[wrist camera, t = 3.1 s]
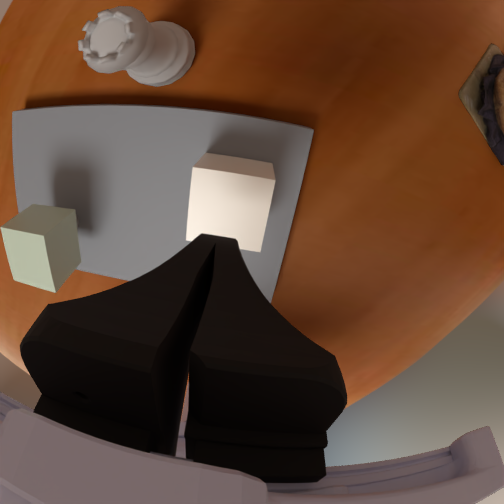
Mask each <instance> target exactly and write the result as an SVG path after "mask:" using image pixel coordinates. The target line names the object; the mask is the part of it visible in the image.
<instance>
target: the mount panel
mask: <svg viewBox="0 0 504 504" xmlns="http://www.w3.org/2000/svg"><path fill="white" fill-rule="evenodd" d="M313 132H314V130H313V129H312V128H310V127H306V126H302V125H297V124H293V123H288V122H283V121H278V120H272V119H267V118H261V117H256V116H250V115H243V114H237V113H230V112H222V111H215V110H206V109H197V108H186V107H174V106H160V105H139V104H82V105H62V106H49V107H38V108H29V109H22V110H18V111H14V112H13V114H12V143H13V165H14V177H15V188H16V196H17V204H18V211H19V213H20V212H22V211H23V210H25V209H26V208H28V207H29V206H30V205H32V204H38V205H46V206H53V207H61V208H68V209H75V210H76V222H77V231H78V240H79V248H80V255H81V263H80V264H79V265H78V266H77V268H76V269H77V270H81V271H86V272H90V273H95V274H99V275H104V276H109V277H113V278H118V279H123V280H128V281H131V280H134V279H136V278H138V277H140V276H142V275H144V274H146V273H147V272H149V271H151V270H153V269H155V268H156V267H158V266H159V265H161V264H162V263H164V262H165V261H167V260H168V259H170V258H171V257H173V256H174V255H175V254H176V253H178V252H179V251H180V250H182V249H183V248H184V247H185V246H187V245H188V244H189V243H190V242H191V241H187V240H186V231H187V219H188V207H189V196H190V186H191V177H192V168H193V166H194V165H195V164H196V163H197V162H198V160H199V159H200V158H201V157H202V156H203V155H204V154H205V153H213V154H220V155H226V156H233V157H239V158H245V159H251V160H257V161H263V162H269V163H272V164H273V169H274V174H275V180H276V181H275V186H274V190H273V195H272V200H271V205H270V209H269V214H268V219H267V223H266V228H265V233H264V237H263V242H262V247H261V251H260V252H255V251H249V250H243V249H240V252H241V254H242V257H243V259H244V262H245V264H246V266H247V268H248V270H249V272H250V274H251V276H252V278H253V279H254V281H255V283H256V284H257V286H258V287H259V289H260V290H261V292H262V293H263V295H264V296H265V297H266V299H267V300H268V301H269V302H270V304H271V300H272V297H273V293H274V289H275V286H276V282H277V278H278V275H279V271H280V267H281V263H282V259H283V256H284V252H285V248H286V244H287V240H288V236H289V232H290V228H291V224H292V220H293V216H294V212H295V208H296V204H297V200H298V196H299V192H300V188H301V184H302V180H303V175H304V171H305V167H306V163H307V158H308V154H309V150H310V145H311V141H312V137H313Z"/></svg>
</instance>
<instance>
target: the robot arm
mask: <svg viewBox="0 0 504 504" xmlns="http://www.w3.org/2000/svg"><path fill="white" fill-rule="evenodd" d="M20 352H21V357H22V359H23V362H24V364H25V366H26V368H27V370H28V371H29V373H30V375H31V377H32V378H33V380H34V382H35V383H36V385H37V387H38V388H39V390H40V392H41V393H42V395H41V397H40V399H39V401H38V403H37V405H36V407H35V409H34V410H33V409H32V408H30V407H27V406H26V405H24V404H22V403H20V402H18V401H16V400H14V399H12V398H11V397H9V396H7V395H5V394H3V393H2V392H0V504H475V503H477V502H479V501H481V500H483V499H484V498H486V497H488V496H490V495H491V494H493V493H495V492H497V491H498V490H500V489H501V488H503V487H504V465H503V462H502V459H501V456H500V453H499V450H498V447H497V445H496V442H495V440H494V437H493V434H492V432H491V429H490V427H489V426H486V427H482V428H479V429H476V430H473V431H470V432H468V433H466V434H464V435H462V436H461V437H459V438H458V439H457V440H455V441H454V442H453V443H452V444H451V446H449V447H445V448H442V449H438V450H434V451H430V452H426V453H422V454H417V455H413V456H408V457H403V458H397V459H392V460H386V461H379V462H373V463H365V464H356V465H347V466H334V467H325V457H324V448H325V447H327V444H328V441H327V434H326V431H327V430H328V428H329V427H330V426H331V425H332V423H333V422H334V421H335V420H336V419H337V418H338V416H339V415H340V414H341V413H342V412H343V410H344V408H345V406H346V404H347V393H346V388H345V383H344V380H343V377H342V373H341V371H340V368H339V366H338V363H337V360H336V357H335V356H334V355H333V354H331V353H330V352H328V351H326V350H325V349H323V348H322V347H320V346H319V345H317V344H316V343H314V342H313V341H311V340H310V339H308V338H307V337H306V336H305V335H303V334H302V333H301V332H300V331H298V330H297V329H296V328H295V327H293V326H292V325H291V324H290V323H289V322H288V321H287V320H286V319H285V318H284V317H283V316H282V315H281V314H280V313H279V312H278V311H277V310H276V309H275V308H274V307H273V306H272V305H271V304H270V302H269V301H268V300H267V299H266V297H265V296H264V295H263V293H262V292H261V290H260V289H259V287H258V286H257V284H256V283H255V281H254V279H253V278H252V276H251V274H250V272H249V270H248V268H247V266H246V264H245V262H244V259H243V257H242V254H241V252H240V248H239V244H238V241H237V240H236V239H235V238H229V237H223V236H217V235H211V234H204V233H201V234H200V235H198V236H197V237H196V238H195V239H194V240H193V241H191V242H190V243H189V244H188V245H187V246H185V247H184V248H183V249H182V250H180V251H179V252H178V253H176V254H175V255H174V256H173V257H171V258H170V259H168V260H167V261H165V262H164V263H162V264H161V265H159V266H158V267H156V268H155V269H153V270H151V271H149V272H147V273H146V274H144V275H142V276H140V277H138V278H136V279H134V280H131V281H129V282H126V283H124V284H122V285H119V286H117V287H114V288H112V289H109V290H106V291H103V292H100V293H97V294H93V295H90V296H86V297H82V298H78V299H73V300H68V301H63V302H58V303H53V304H48V305H47V306H46V307H45V309H44V310H43V311H42V313H41V314H40V315H39V317H38V318H37V319H36V321H35V322H34V324H33V325H32V326H31V328H30V329H29V331H28V332H27V334H26V335H25V337H24V338H23V340H22V342H21V344H20ZM188 374H189V382H188V387H187V392H186V397H185V391H186V385H187V380H188ZM184 397H185V402H184ZM183 403H184V407H183ZM182 409H183V412H182ZM181 415H182V417H181Z"/></svg>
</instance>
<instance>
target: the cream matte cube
mask: <svg viewBox="0 0 504 504" xmlns="http://www.w3.org/2000/svg"><path fill="white" fill-rule="evenodd" d="M275 181H276V180H275V174H274V169H273V164H272V163H269V162H263V161H257V160H251V159H245V158H239V157H233V156H226V155H220V154H213V153H205V154H204V155H203V156H202V157H201V158H200V159H199V160H198V162H197V163H196V164H195V165H194V166H193V168H192V177H191V186H190V196H189V207H188V219H187V231H186V240H187V241H193V240H194V239H195V238H196V237H197V236H198V235H200V234H201V233H204V234H211V235H217V236H223V237H229V238H235V239H236V240H237V241H238V244H239V248H240V249H243V250H249V251H255V252H260V251H261V247H262V242H263V237H264V233H265V228H266V223H267V219H268V214H269V209H270V205H271V200H272V195H273V190H274V186H275Z"/></svg>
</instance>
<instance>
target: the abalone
mask: <svg viewBox="0 0 504 504" xmlns="http://www.w3.org/2000/svg"><path fill="white" fill-rule="evenodd" d="M459 98H460V99H461V101H462V103H463V104H464V106H465V108H466V109H467V111H468V112H469V114H470V115H471V117H472V118H473V120H474V122H475V123H476V125H477V126H478V128H479V130H480V131H481V132H482V134H483V136H484V137H485V139H486V141H487V142H488V144H489V146H490V147H491V149H492V151H493V152H494V154H495V155H496V157H497V158H498V159H499V162H500V163H501V165H503V166H504V55H503V54H502V52H501V51H500V49H499V48H498V47H497V46H496V45H494V44H490V45H489V47H488V49H487V50H486V52H485V53H484V55H483V57H482V58H481V60H480V61H479V62H478V64H477V66H476V67H475V69H474V70H473V71H472V73H471V74H470V76H469V77H468V79H467V80H466V82H465V83H464V85H463V86H462V87H461V89H460V90H459Z"/></svg>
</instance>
